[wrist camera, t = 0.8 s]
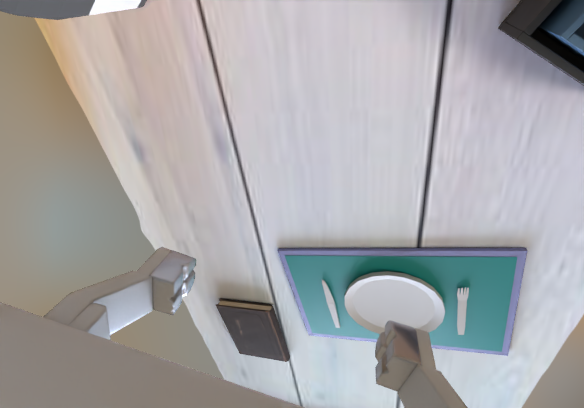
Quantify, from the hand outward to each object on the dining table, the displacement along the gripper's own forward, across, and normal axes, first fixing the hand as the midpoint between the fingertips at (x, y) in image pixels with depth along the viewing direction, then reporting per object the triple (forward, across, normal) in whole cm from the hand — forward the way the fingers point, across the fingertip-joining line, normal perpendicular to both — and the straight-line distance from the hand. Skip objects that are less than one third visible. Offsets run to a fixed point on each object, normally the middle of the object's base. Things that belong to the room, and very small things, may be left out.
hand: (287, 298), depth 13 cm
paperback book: (+49, +6, +68) cm, 84 cm away
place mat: (+44, -22, +38) cm, 63 cm away
